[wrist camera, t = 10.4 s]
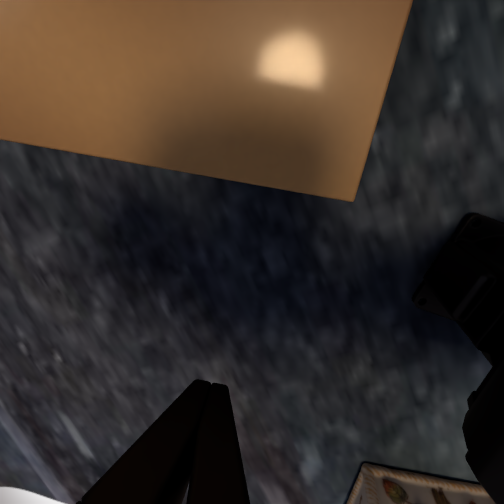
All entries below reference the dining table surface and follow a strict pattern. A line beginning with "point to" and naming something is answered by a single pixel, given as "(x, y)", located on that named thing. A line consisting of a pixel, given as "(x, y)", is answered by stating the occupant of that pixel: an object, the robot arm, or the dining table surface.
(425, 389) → the dining table surface
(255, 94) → the cabinet
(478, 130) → the dining table surface
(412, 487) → the decorative jar
